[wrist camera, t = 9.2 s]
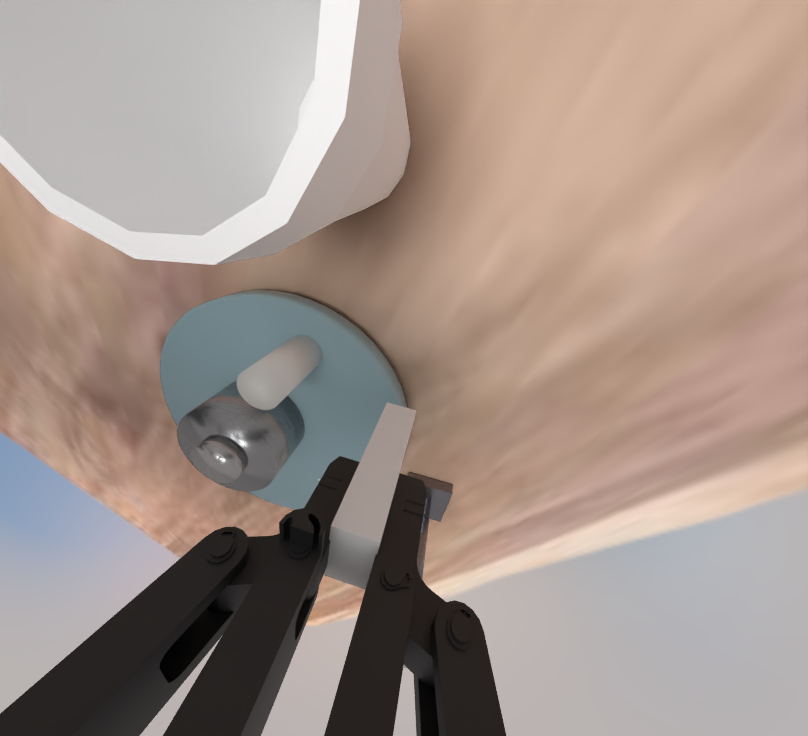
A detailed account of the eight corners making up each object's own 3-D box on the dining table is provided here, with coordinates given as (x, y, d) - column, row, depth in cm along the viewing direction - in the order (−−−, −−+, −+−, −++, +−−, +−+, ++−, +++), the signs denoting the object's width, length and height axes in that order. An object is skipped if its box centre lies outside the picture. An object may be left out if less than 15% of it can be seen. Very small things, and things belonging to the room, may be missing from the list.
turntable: (199, 460, 30) (131, 522, 24) (160, 259, 20) (29, 276, 14) (385, 517, 28) (364, 598, 22) (436, 330, 19) (422, 382, 13)
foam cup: (248, 56, 15) (-418, -451, 4) (423, -16, 13) (102, -1875, 1) (306, 250, 19) (72, 294, 8) (448, 221, 17) (415, 222, 5)
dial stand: (399, 499, 28) (361, 659, 18) (407, 471, 26) (370, 631, 16) (443, 512, 28) (430, 682, 18) (454, 485, 26) (448, 657, 16)
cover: (226, 438, 25) (174, 486, 20) (216, 368, 21) (152, 406, 17) (303, 461, 24) (267, 515, 20) (306, 392, 21) (264, 438, 16)
